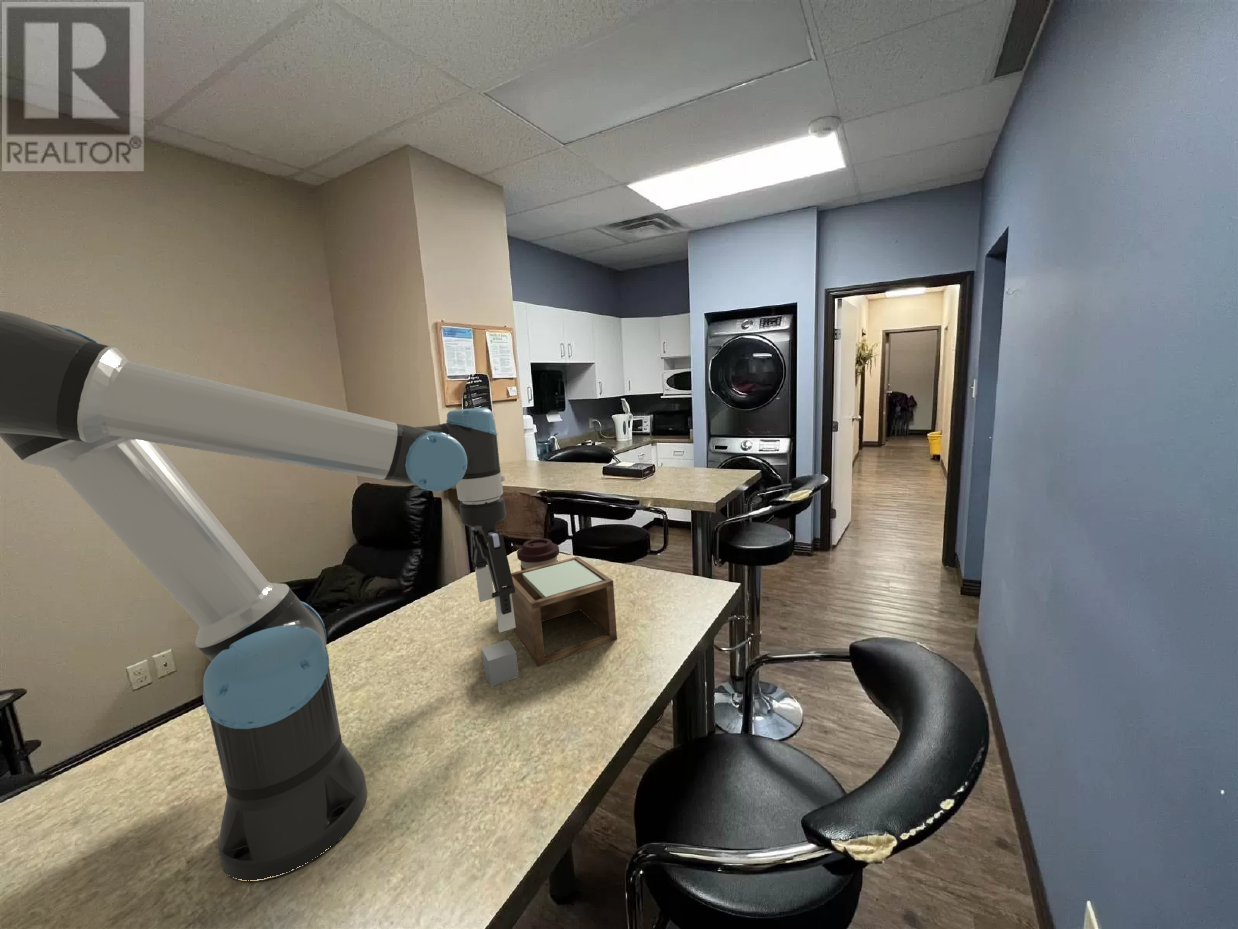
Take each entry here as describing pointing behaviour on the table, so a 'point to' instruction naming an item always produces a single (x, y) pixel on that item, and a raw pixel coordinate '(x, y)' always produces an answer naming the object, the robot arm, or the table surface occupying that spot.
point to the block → (500, 662)
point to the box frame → (561, 612)
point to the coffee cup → (537, 553)
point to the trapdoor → (560, 578)
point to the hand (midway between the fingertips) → (496, 613)
